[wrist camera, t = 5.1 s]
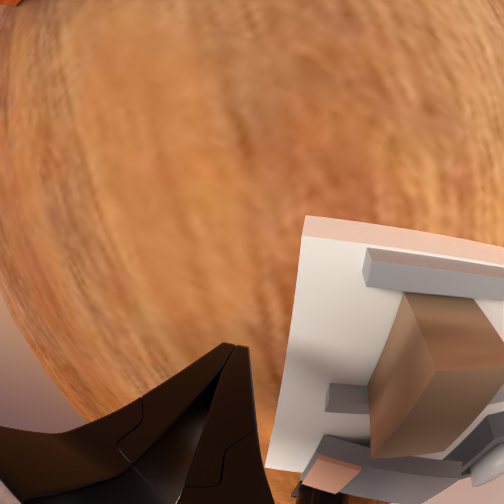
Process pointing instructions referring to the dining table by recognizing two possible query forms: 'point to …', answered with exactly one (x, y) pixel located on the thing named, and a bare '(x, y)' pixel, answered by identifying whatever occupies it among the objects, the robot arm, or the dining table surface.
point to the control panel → (371, 330)
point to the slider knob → (432, 375)
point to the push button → (488, 466)
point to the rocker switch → (377, 473)
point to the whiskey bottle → (9, 2)
